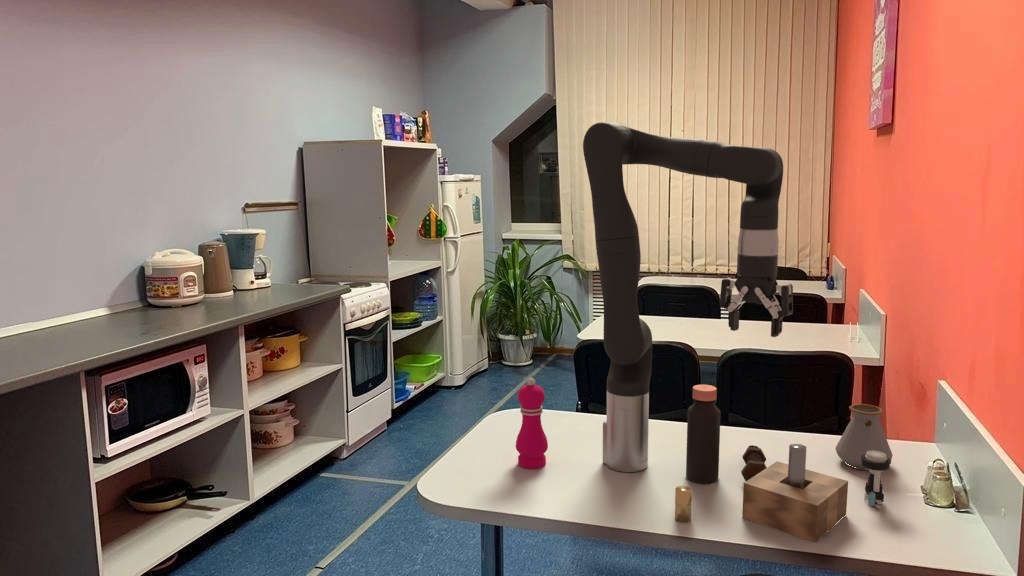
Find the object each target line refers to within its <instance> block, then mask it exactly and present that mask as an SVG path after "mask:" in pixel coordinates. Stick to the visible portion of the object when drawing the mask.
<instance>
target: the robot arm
mask: <svg viewBox="0 0 1024 576" xmlns="http://www.w3.org/2000/svg"><path fill="white" fill-rule="evenodd" d="M584 134H585V135H584V137H583V140H582V141H583V142H582V150H583V152H582V153H583V157H584V163H585V168H586V171H587V172H586V173H587V177H588V180H589V182H588V183H589V186H590V194H591V202H592V203H591V204H592V205H591V206H592V214H593V215H592V217H593V224H594V239H595V249H596V257H597V258H596V259H597V264H598V271H599V272H598V273H599V279H600V280H599V281H600V287H601V288H600V289H601V293H602V303H603V304H602V305H603V347H604V350H605V352H606V354H607V356H608V357H609V359H610V366H609V371H608V374H607V377H606V420H605V421H603V423H602V463H603V464H605V465H606V466H607V467H608V468H609V469H612V470H614V471H616V472H617V471H618V472H623V473H637V472H641V471H643V470H645V469H647V468H648V464H649V460H648V459H649V422H650V421H649V420H650V419H649V413H650V410H649V409H650V382H651V376H652V365H653V363H652V362H653V335H652V331H651V328H650V327H649V324H647V322H646V321H644V320H643V319H642V318H640V313H639V306H638V304H639V303H638V291H639V290H638V289H639V284H640V283H639V280H640V273H641V259H642V257H641V242H640V233H639V227H638V223H637V219H636V217H635V215H634V212H633V209H632V207H631V205H630V202H629V200H628V197H627V194H626V189H625V185H624V175H623V173H624V172H623V165H624V166H625V165H645V166H646V165H647V166H648V165H649V166H654V167H655V166H656V167H660V168H661V167H662V168H664V169H668V170H672V171H675V172H680V173H684V174H688V175H694V176H698V177H699V176H700V177H706V178H710V179H711V178H713V179H723V180H728V181H732V182H736V183H740V184H745V196H744V199H743V201H742V203H741V206H740V214H739V215H740V216H739V218H740V219H739V233H738V239H737V247H736V248H737V249H736V251H737V256H736V257H737V260H736V276H737V277H736V279H733V278H732V277H726V278H722V280H721V285H720V295H719V307H720V308H721V309H725V310H727V311H728V321H727V323H728V327H729V328H730V331H733V332H735V331H738V330H739V328H740V311H739V309H740V308H741V307H742V305H743V304H752V303H753V304H756V305H763V306H764V307H765V309H766V310H768V312H769V314H770V315H771V316H772V318H771V319H770V320H771V321H770V325H771V326H770V327H771V328H770V337H772V338H776V337H779V336H780V334H782V332H783V318H785V317H787V316H790V315H793V313H794V287H793V286H794V285H793V284H792V283H788V284H778V282H777V276H778V262H779V259H778V258H779V229H778V228H779V203H780V202H779V201H780V196H781V191H782V185H783V179H784V178H783V177H784V162H783V158H782V156H781V155H780V154H779V152H777V151H776V150H774V149H772V148H768V147H757V146H755V147H754V146H743V145H732V144H731V145H730V144H729V143H726V142H721V141H716V140H715V141H714V140H706V139H700V138H699V139H698V138H691V137H690V138H689V137H677V136H675V137H674V136H663V135H658V134H653V133H648V132H645V131H642V130H639V129H636V128H633V127H630V126H627V125H624V124H622V123H620V122H611V121H610V122H609V121H600V122H596V123H594V124H592V125H590V127H589V128H588V129H587V130H586V132H585V133H584ZM734 288H736V290H737V292H738V293H737V294H736V296H735V297H734V298H733V299H732V295H733V290H734ZM776 292H778V295H779V296H780V297H781V299H780V300H781V306H780V302H779V300H778V299H777V297H776V296H775V294H776Z"/></svg>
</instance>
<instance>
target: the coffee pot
mask: <svg viewBox="0 0 1024 576" xmlns="http://www.w3.org/2000/svg"><path fill="white" fill-rule="evenodd" d="M848 409H849V410H850V412H851V413H852V417H851V419H850V420H849V422H848V425H847V426H846V428H845V430H844V432H843V433H842V435H841V437H840V439H838V440H839V441H838V442H837V444H836V446H835V452H836V454H837V456H838V457H839V459H840V460H842V462H843V463H844V462H846V463H847V464H849V465H851V466H853V467H856V468H858V469H857V470H860V469H862V470H861V471H868V472H870V470H868V469H867V468H866V467H864V466H863V465H862V460H861V456H862V455H863V454H866V452H867V451H871V450H874V451H880V452H883V453H885V454H886V457H888V458H889V459H891V460H893V451H892V449H891V447H890V444H889V442H888V440H887V436H886V434H885V432H884V429H883V427H882V424H881V421H880V416H881V414H882V413H883V409H882V408H881V407H879V406H876V405H872V404H866V403H855V404H852V405H850V406H848ZM856 468H855V469H856Z"/></svg>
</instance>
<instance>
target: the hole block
mask: <svg viewBox="0 0 1024 576" xmlns="http://www.w3.org/2000/svg"><path fill="white" fill-rule="evenodd" d="M787 484H788V463H784V462H781V461H779V460H777V461H775V462H774V463H773V464H771V465H769V466H767V468H766V469H764V470H763V471H761V472H760V473H758V474H757V475H755V476H754V477H752V478H751V479H749V480H747V481H744V482H743V488H742V489H743V491H742V511H741V512H742V516H741V517H742V519H745V520H748V521H751V520H752V521H751V522H753V521H754V523H756V522H758V523H757V524H759V523H760V524H759V525H762V524H763V526H765V525H766V526H765V527H768V526H769V528H771V527H772V529H773V530H777V529H778V530H777V531H781V532H783V533H787V534H789V535H792V536H795V537H797V538H800V537H801V539H803V538H804V539H803V540H806V539H807V540H806V541H809V542H812V543H815V542H816V543H818V541H819V540H821V539H822V538H823V537H824V536H825V535H826V534H827V533H828V532H829V531H831V530H832V529H833V528H834V527H835V526H836V525H837V524H838V523H839V522H838V521H839V520H840V519H841V518H842V517H844V516H845V515H846V516H847V505H848V503H847V502H848V493H849V492H848V491H849V490H848V489H849V480H846V479H842V478H839V477H835V476H832V475H828V474H824V473H821V472H817V471H814V470H810V469H806V468H805V485H804V489H800V488H796V487H793V486H790V485H787ZM846 516H845V517H846ZM845 517H844V518H845ZM837 522H838V523H837ZM836 523H837V524H836ZM835 524H836V525H835ZM834 525H835V526H834ZM833 526H834V527H833ZM832 527H833V528H832ZM831 528H832V529H831ZM830 529H831V530H830ZM827 531H828V532H827ZM825 533H826V534H825ZM824 534H825V535H824ZM823 535H824V536H823ZM822 536H823V537H822ZM821 537H822V538H821Z"/></svg>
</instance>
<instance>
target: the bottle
mask: <svg viewBox="0 0 1024 576" xmlns="http://www.w3.org/2000/svg"><path fill="white" fill-rule="evenodd" d="M717 394H718V389H717V387H715V386H714V385H710V384H696V385H693V386H692V400H693V403H692V404H691V405H690V406H689V407H688V408H687V416H686V417H687V418H686V419H687V420H686V421H687V426H686V428H687V429H686V455H685V456H686V461H685V462H686V463H685V477H686V478H687V479H688V480H689V481H690V482H694V483H696V484H704V485H705V484H707V485H709V484H714V483H716V482H718V480H719V474H720V473H719V471H720V470H719V469H720V468H719V467H720V464H719V463H720V442H721V410H720V409H719V408H718V406H716V404H715V403H716V402H717Z"/></svg>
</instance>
